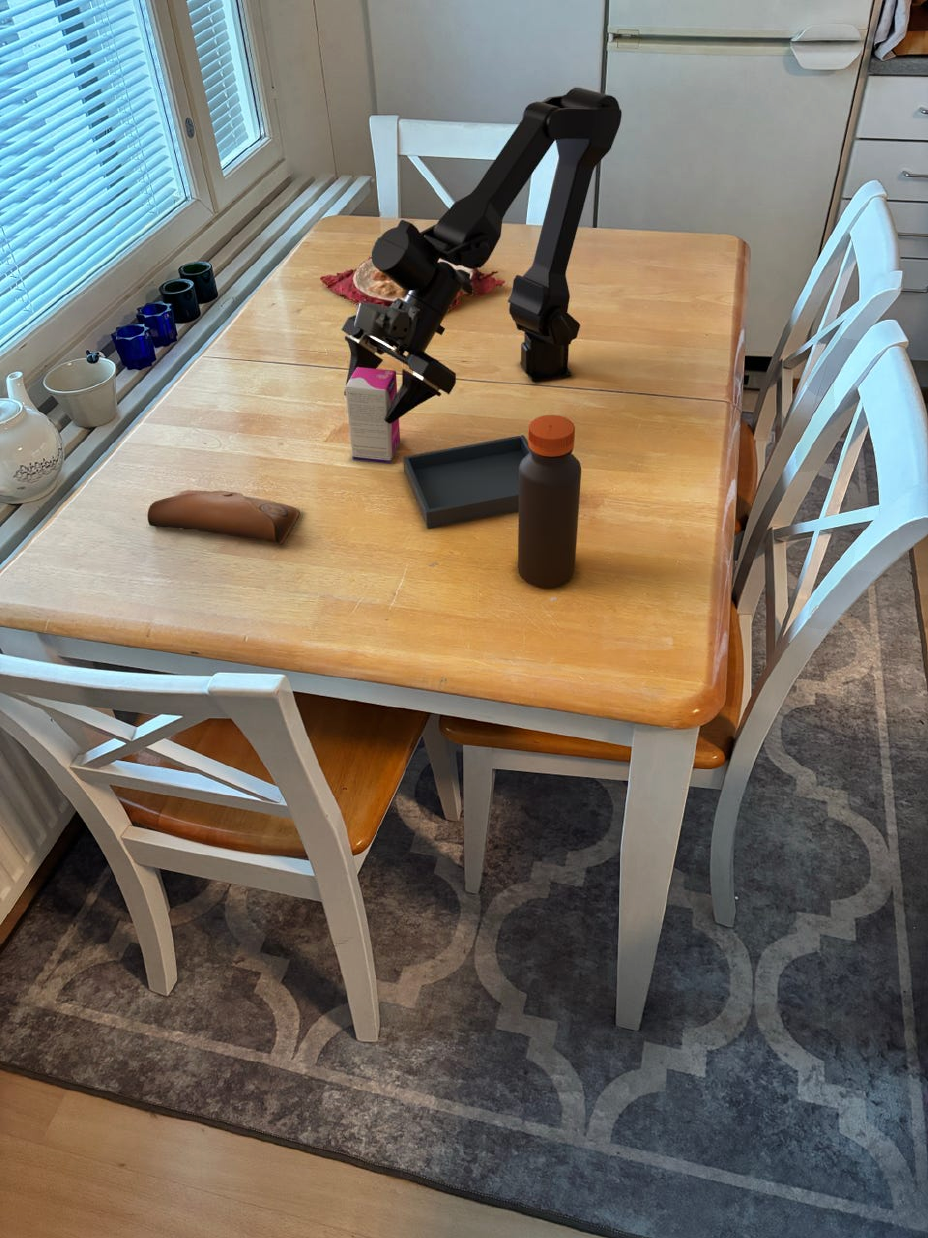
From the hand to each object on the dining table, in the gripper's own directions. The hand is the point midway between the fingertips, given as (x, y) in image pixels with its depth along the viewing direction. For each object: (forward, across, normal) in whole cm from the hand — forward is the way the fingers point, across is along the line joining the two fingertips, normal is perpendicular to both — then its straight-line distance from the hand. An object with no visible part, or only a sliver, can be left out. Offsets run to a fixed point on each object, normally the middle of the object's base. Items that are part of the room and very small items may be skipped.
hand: (366, 409), depth 128 cm
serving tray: (+1, +16, +9) cm, 19 cm away
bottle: (+5, +35, +5) cm, 36 cm away
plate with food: (-22, -39, +32) cm, 55 cm away
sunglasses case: (+22, 0, -11) cm, 24 cm away
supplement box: (+4, 0, +6) cm, 7 cm away
